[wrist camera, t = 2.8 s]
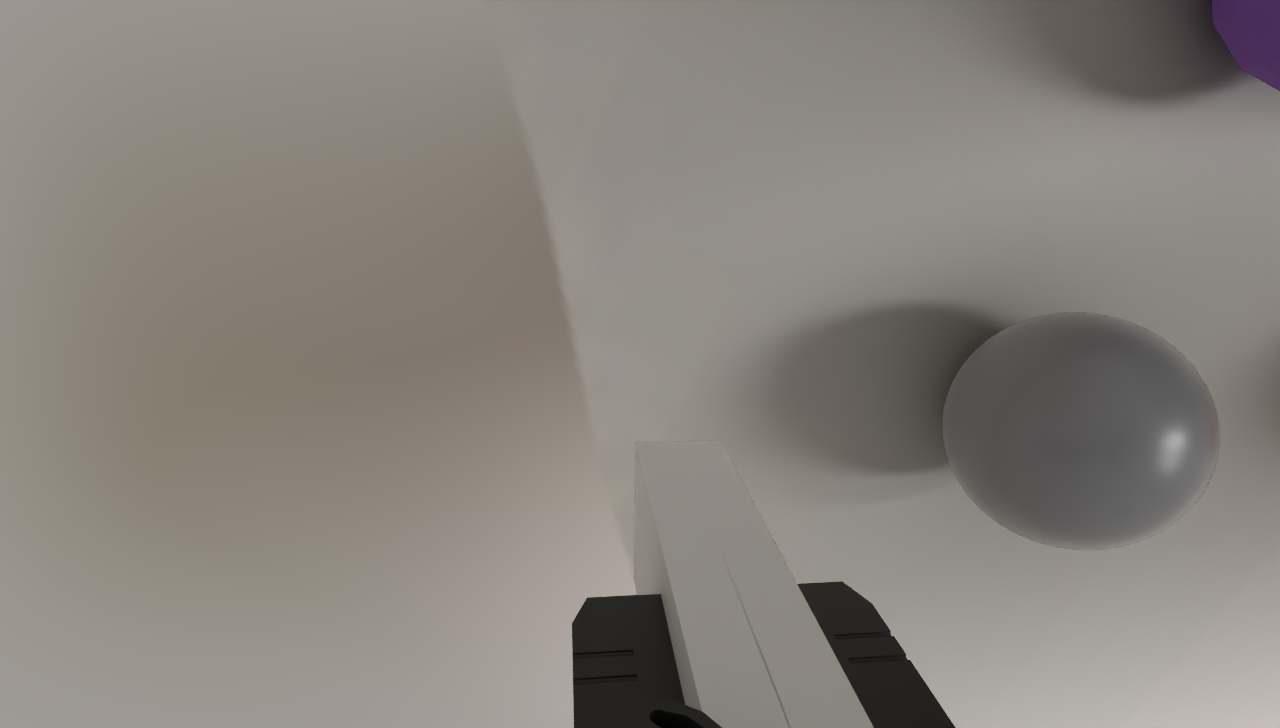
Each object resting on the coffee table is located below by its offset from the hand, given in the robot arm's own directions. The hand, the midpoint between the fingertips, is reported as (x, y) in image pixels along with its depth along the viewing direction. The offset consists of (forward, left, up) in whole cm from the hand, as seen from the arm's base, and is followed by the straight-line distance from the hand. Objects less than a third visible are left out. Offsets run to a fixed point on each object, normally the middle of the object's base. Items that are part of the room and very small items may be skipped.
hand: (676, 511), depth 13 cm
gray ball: (-9, -3, -3) cm, 10 cm away
